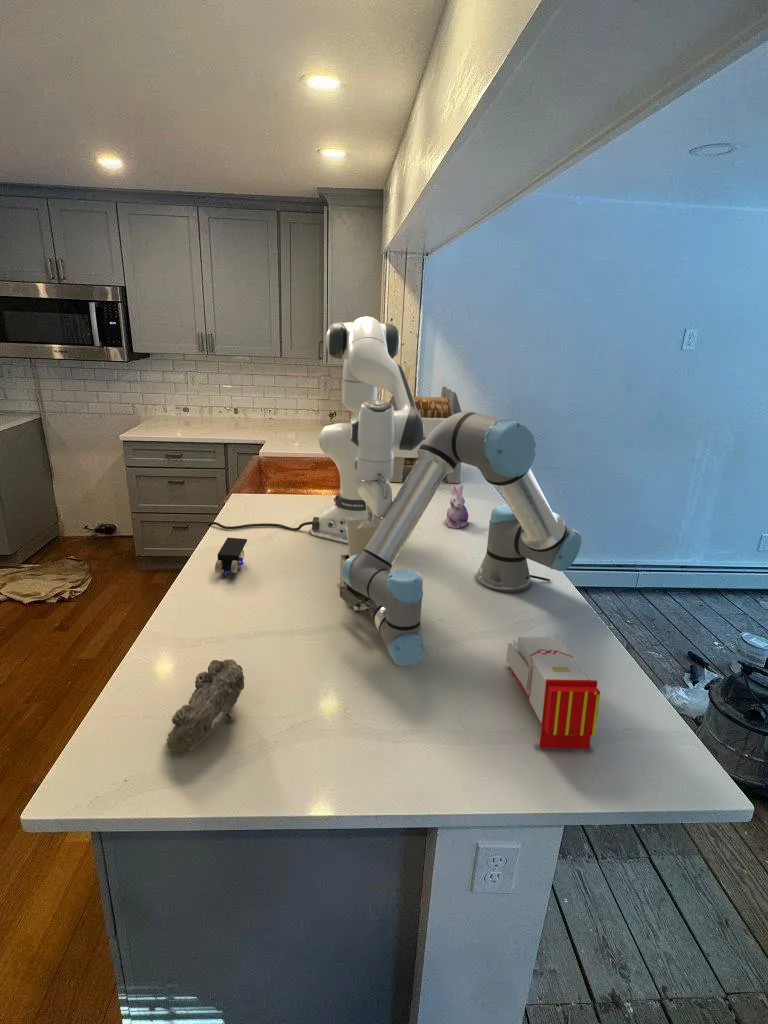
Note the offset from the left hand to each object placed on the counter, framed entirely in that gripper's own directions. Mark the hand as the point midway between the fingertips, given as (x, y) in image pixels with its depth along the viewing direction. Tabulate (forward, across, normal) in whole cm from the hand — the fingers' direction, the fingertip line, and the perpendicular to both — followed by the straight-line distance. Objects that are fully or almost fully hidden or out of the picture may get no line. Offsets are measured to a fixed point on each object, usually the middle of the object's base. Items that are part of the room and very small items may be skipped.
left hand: (373, 522), depth 142 cm
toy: (+25, -44, -26) cm, 56 cm away
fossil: (+25, -34, +40) cm, 58 cm away
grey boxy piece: (+22, +123, -56) cm, 137 cm away
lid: (+8, +5, 0) cm, 10 cm away
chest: (+24, +8, 0) cm, 25 cm away
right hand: (+17, +6, 0) cm, 18 cm away
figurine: (+23, +54, -47) cm, 76 cm away
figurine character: (+24, +30, +34) cm, 52 cm away
